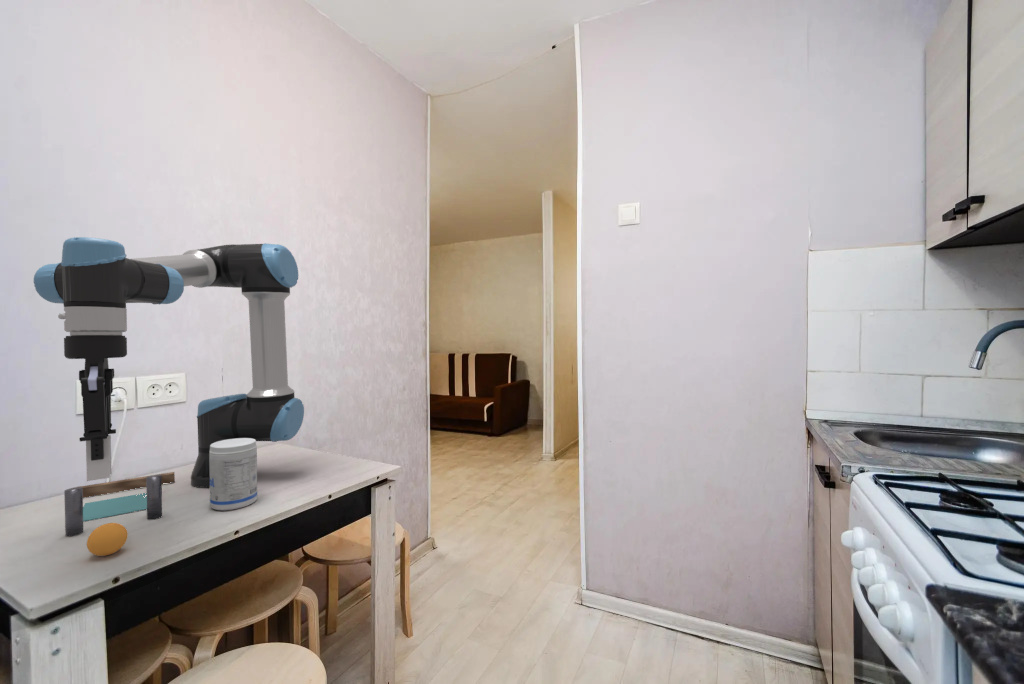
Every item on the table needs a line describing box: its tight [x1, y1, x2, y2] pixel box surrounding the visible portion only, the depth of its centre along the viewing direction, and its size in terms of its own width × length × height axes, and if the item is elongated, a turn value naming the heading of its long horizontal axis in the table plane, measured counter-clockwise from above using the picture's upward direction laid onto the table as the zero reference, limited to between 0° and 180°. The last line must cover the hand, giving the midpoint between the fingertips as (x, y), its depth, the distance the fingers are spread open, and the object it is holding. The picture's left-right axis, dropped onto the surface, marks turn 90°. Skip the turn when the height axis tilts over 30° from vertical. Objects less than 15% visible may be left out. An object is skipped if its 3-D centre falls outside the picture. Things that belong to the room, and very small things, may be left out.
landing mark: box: [83, 492, 147, 523], centre depth 104 cm, size 14×14×1 cm
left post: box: [63, 486, 84, 538], centre depth 89 cm, size 3×3×9 cm
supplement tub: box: [209, 438, 258, 511], centre depth 104 cm, size 10×10×15 cm
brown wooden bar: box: [73, 471, 176, 498], centre depth 115 cm, size 20×2×2 cm, turn 128°
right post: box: [145, 474, 163, 520], centre depth 97 cm, size 3×3×9 cm
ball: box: [86, 522, 129, 557], centre depth 80 cm, size 6×6×6 cm
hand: (99, 476), depth 73 cm, fingers open, 2 cm apart
